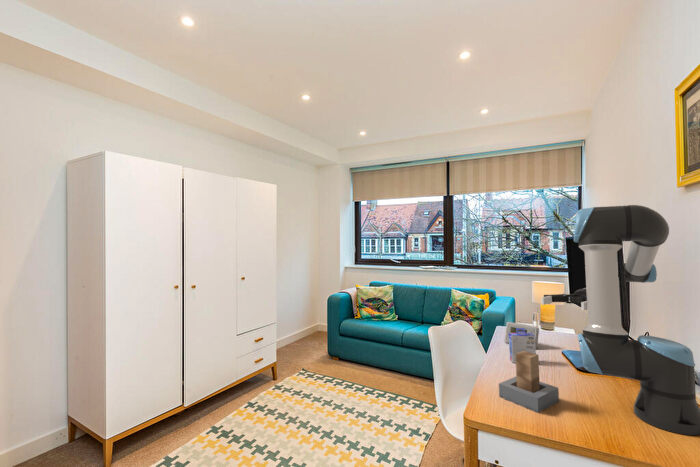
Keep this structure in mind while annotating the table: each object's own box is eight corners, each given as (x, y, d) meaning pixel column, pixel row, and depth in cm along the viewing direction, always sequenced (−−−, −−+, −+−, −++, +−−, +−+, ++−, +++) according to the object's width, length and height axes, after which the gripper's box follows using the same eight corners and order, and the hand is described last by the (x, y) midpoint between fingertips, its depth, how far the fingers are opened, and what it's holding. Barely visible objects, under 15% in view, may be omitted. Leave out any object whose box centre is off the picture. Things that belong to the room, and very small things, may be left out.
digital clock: (502, 342, 171) (501, 322, 171) (513, 340, 175) (513, 320, 176) (531, 351, 157) (530, 329, 157) (543, 348, 161) (542, 326, 161)
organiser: (558, 401, 107) (558, 387, 107) (538, 413, 100) (537, 398, 100) (520, 387, 118) (519, 374, 118) (499, 396, 111) (498, 383, 111)
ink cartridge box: (532, 360, 145) (531, 327, 145) (537, 364, 140) (535, 330, 140) (508, 359, 147) (507, 326, 147) (512, 363, 141) (511, 330, 142)
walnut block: (540, 396, 108) (538, 354, 109) (531, 401, 106) (530, 357, 106) (525, 391, 113) (523, 350, 113) (517, 395, 110) (515, 353, 110)
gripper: (626, 312, 120) (602, 320, 109) (554, 302, 141) (528, 308, 130) (625, 291, 121) (601, 297, 109) (553, 285, 142) (527, 289, 130)
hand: (561, 303), depth 120 cm, fingers open, 13 cm apart
